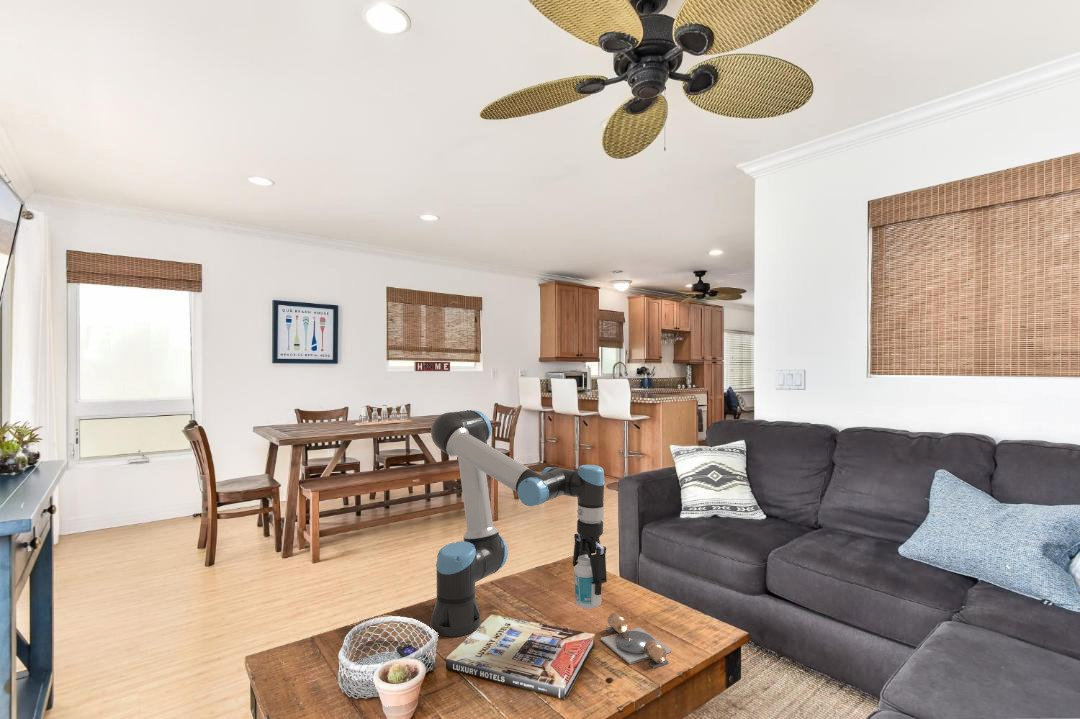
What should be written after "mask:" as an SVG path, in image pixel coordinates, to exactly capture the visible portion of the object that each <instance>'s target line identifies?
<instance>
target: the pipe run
mask: <svg viewBox="0 0 1080 719" xmlns="http://www.w3.org/2000/svg"><path fill="white" fill-rule="evenodd" d="M607 625H608V626H609V627H605V631H606V632H608V634H609V635H607V636H602V637H600V641H601V642H603V643H604V644H605V646H607V647H609V648H610V649H611V650H612V651H613V652H614V653H615V654H617V655H618V656H619V657H620V658H622V659H623V660H624V661H625V663H627V664H628V665H632V664H636V663H639V662H643V661H646V660H647V665H649V666H650V667H651V668H652V669H655V668H660V667H662V666H665V665H668V664H669V661H668V659H666V658H667V654H668V653H672V649H671V648H669V647H668V646H667V645H665V644H664V643H662V642H661V641H660V640H658V639H657V638H656V637H655V636H653V635H652V634H650V633H649V632H647V631H646V630H644V629H643V628H642V627H637V628H636V627H635V628H633V629H628V621H627V620H626V619H625V618H623V617H622V616H621V615H619V614H618V613H616V612H612V613H610V614H609V616H608V618H607ZM627 629H628V630H627ZM613 633H614V634H613ZM649 659H651V660H649Z"/></svg>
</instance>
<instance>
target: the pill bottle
mask: <svg viewBox="0 0 1080 719" xmlns="http://www.w3.org/2000/svg"><path fill="white" fill-rule="evenodd" d="M573 579H574V580H573V581H574V593H575V594H574V596H575V603H576V605H577V606H578V607H579V608H582V609H585V610H592V609H595V608H597V607H599V606H600V605H597V606H593V607H592V606H591V588H592V583H591V582H594V581H593V575H592V569H591V563H590V558H588V555H581V556H579V557H578V564H577V565H576V566H573Z"/></svg>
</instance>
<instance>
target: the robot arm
mask: <svg viewBox="0 0 1080 719" xmlns="http://www.w3.org/2000/svg"><path fill="white" fill-rule="evenodd" d="M491 424H492V423H491V421H490V419H489V417H488V416H487V415H486V414H484V413H483V412H482V411H480V410H475V409H474V410H472V409H469V410H459V411H452V412H451V411H450V412H445V413H442V414H440V415H439V416H437V417H436V419H435V420H433V423H432V424H431V428H430V429H431V430H430V435H431V436H430V437H431V439H432V442H433V444H434V445H435V447H437V448H438V449H439V450H441V452H443V453H444V454H447V455H448V456H450V457H456V458H458V459H457V460H458V468H459V475H460V483H461V490H462V498H463V499H462V500H463V506H464V514H465V515H464V516H465V524H466V532H465V533H464V535H463V541H455V542H451V543H447V544H445V545H444V546H443V547H441V548H440V549H439V550H438V552H437V557H436V563H435V564H436V565H435V567H436V601H435V604H434V607H433V609H432V613H431V616H430V628H431V627H432V628H433V629H434V630H435V631H436V632H438V633H439V634H438V635H439V636H443V637H452V638H453V637H461V636H465V635H469V634H471V633H474V632H475V631H477V630H478V629H479V628H480V626H481V622H482V619H481V618H482V616H481V613H480V609H479V606H478V603H477V599H476V583H477V582H479V581H481V580H483V579H485V578H487V577H488V576H490V575H493V574H495V573H496V572H498V571H499V570H500V569H502V567H504V565H505V564H506V562H507V559H508V554H509V549H508V544H507V542H506V540H504V537H503V536H502V535H500V534H499V529H498V528H496V527H495V526H494V523H493V522H494V521H493V515H492V508H491V502H490V501H491V500H490V493H489V485H488V480H487V477H488V476H489V477H490V478H492V479H494V480H496V481H498V482H499V483H501V484H503V486H506V487H508V488H509V489H511V490H512V491H513V492H516V493H517V496H518V499H519V500H520V501H521V504H523V505H525V506H528V507H534V506H538V505H543V504H544V503H546V502H548V501H550V500H552V499H555V498H558V497H560V496H568V497H574V498H577V510H576V512H577V517H576V518H578V519H577V522H576V532H577V533H574V534H573V535H574V536H573V537H574V547H573V555H572V556H573V557H572V566H573V567H575V566H576V565H577V564H578V557H579V556H581V555H588V558H590V563H591V569H592V575H593V581H594V582H591V583H592V588H591V606H592V607H593V606H597V605H599V606H601V604H602V584H605V583H607V581H608V579H607V559H606V555H607V554H606V552H607V547H606V546H604V545H603V546H602V545H601V541H600V537H601V536H602V535H603V534H604V521H603V520H604V517H605V516H604V512H605V511H604V510H605V505H604V501H605V500H604V499H605V498H604V497H605V496H604V495H605V483H606V482H605V471H604V468H603V467H601V466H600V465H596V464H582V465H579V467H578V469H577V470H573V469H566V468H560V467H557V466H556V467H555V466H554V467H552V466H551V467H549V466H548V467H547V466H546V467H545V468H544V469H543V470H542V471H541V473H537V472H536V471H534V470H533V469H531V468H529V467H527V466H525V465H524V464H522V463H521V462H518V461H517V460H515V459H513V458H512V457H510V456H508V455H506V454H504V453H502V452H501V451H499V450H498V449H496V448H494V447H492V446H491V445H489V444H487V442H488V440H489V439H490V436H491V435H492V425H491ZM478 627H479V628H478ZM477 628H478V629H477Z"/></svg>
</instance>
